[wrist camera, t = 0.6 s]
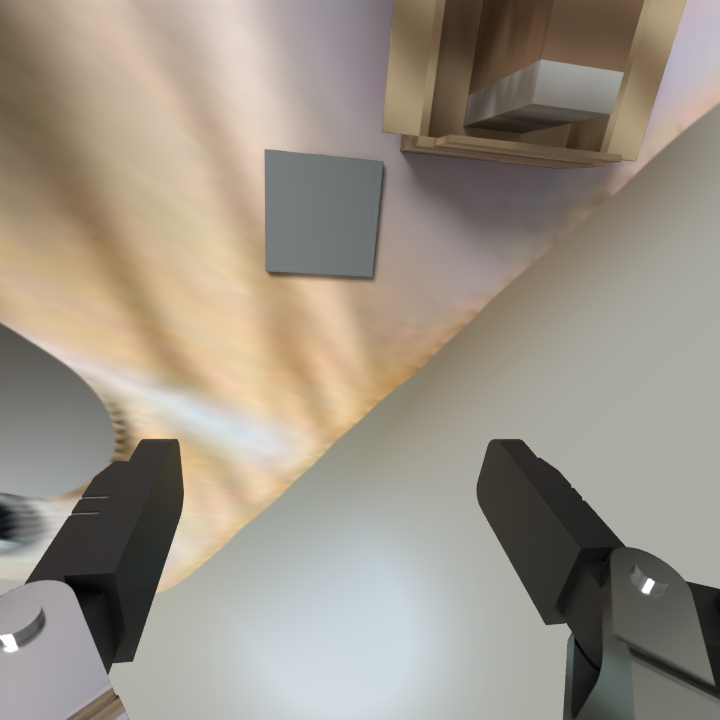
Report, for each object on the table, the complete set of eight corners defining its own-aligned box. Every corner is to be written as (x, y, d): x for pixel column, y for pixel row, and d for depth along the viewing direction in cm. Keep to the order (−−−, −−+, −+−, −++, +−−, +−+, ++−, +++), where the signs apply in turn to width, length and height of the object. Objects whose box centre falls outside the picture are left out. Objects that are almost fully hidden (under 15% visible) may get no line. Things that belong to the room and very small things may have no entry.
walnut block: (487, -24, 28) (580, -124, 19) (552, -11, 28) (673, -101, 19) (462, 126, 31) (532, 103, 22) (522, 133, 32) (611, 114, 23)
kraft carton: (387, -81, 26) (423, -181, 19) (643, -28, 29) (757, -96, 22) (369, 147, 31) (391, 137, 24) (588, 171, 35) (666, 168, 27)
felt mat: (265, 149, 30) (264, 149, 30) (381, 161, 32) (383, 161, 31) (266, 269, 34) (265, 271, 33) (371, 275, 35) (372, 276, 35)
